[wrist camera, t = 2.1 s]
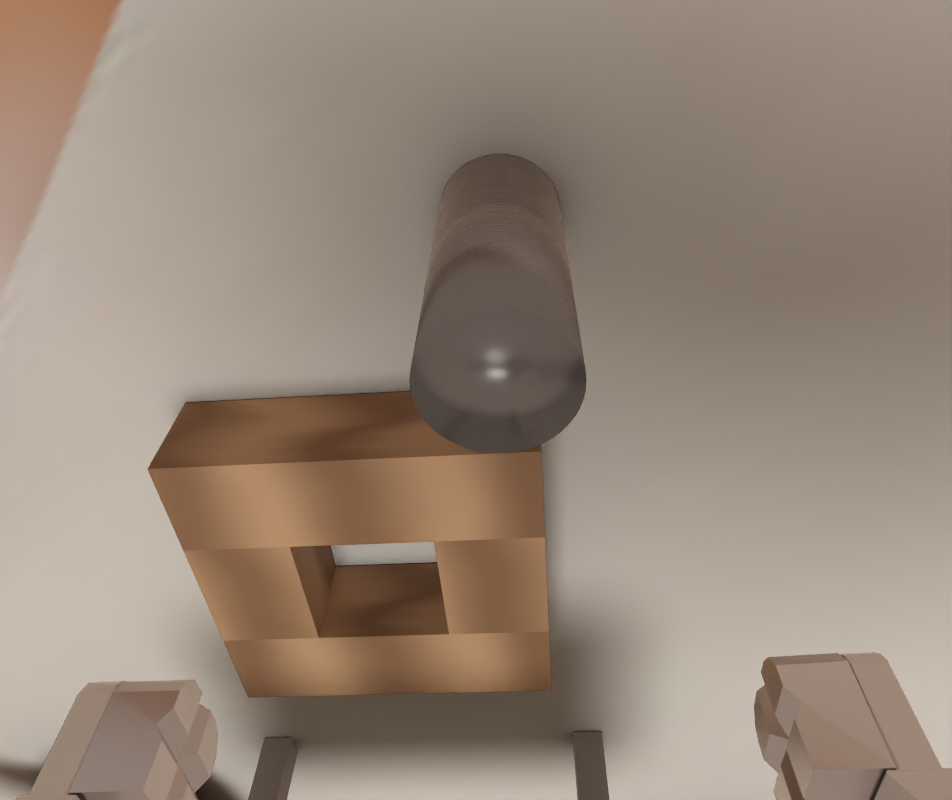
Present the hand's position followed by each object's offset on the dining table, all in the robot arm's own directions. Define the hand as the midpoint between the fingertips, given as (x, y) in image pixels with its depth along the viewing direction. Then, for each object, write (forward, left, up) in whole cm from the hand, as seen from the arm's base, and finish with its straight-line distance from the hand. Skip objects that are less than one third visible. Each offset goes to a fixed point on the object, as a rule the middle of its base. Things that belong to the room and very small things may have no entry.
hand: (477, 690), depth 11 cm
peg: (0, 0, -18) cm, 18 cm away
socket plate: (+6, +14, -18) cm, 23 cm away
